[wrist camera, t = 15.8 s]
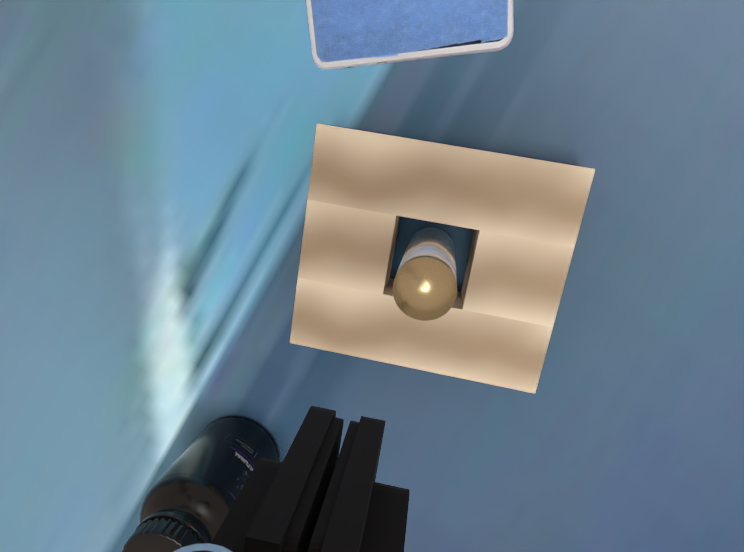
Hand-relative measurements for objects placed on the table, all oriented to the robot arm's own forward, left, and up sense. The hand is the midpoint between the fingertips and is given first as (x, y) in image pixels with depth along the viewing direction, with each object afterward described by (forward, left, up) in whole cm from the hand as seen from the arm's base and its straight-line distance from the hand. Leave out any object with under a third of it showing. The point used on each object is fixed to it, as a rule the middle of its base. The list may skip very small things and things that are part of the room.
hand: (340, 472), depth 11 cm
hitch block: (0, +1, -25) cm, 25 cm away
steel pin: (0, +1, -25) cm, 25 cm away
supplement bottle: (+19, -11, -25) cm, 33 cm away
